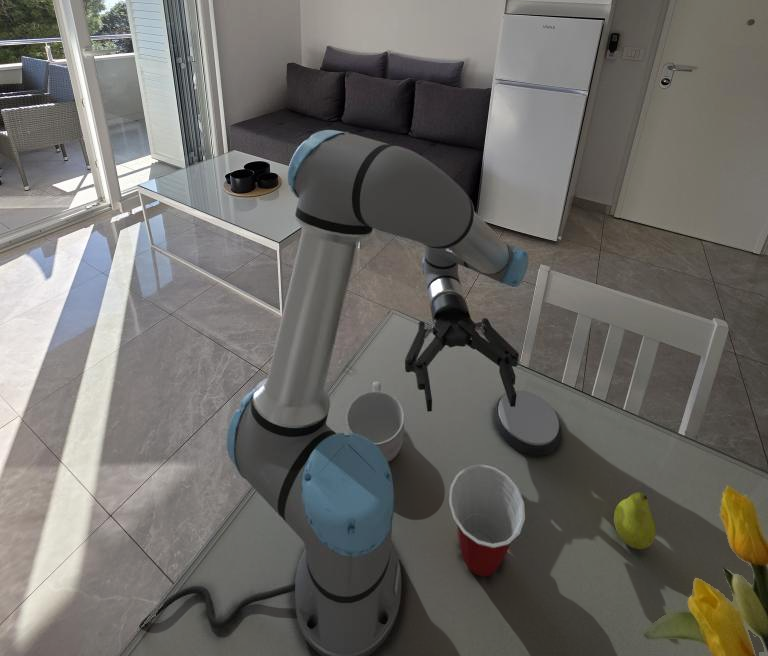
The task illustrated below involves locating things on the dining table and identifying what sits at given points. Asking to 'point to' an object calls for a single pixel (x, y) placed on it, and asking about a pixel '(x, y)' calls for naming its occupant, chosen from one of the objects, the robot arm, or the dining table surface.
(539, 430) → the scale
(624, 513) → the fruit
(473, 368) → the dining table surface
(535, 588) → the dining table surface
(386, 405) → the teacup
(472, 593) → the dining table surface
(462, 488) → the plastic cup
